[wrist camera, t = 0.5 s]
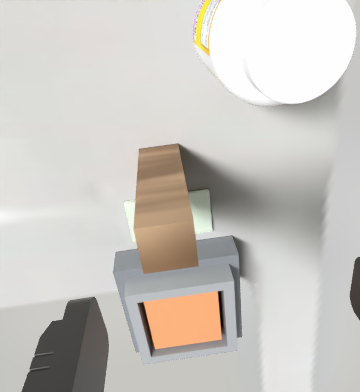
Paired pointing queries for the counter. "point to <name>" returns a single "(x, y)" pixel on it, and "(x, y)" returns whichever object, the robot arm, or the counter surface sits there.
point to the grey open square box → (182, 286)
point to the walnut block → (163, 212)
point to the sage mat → (198, 207)
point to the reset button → (184, 320)
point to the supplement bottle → (275, 47)
